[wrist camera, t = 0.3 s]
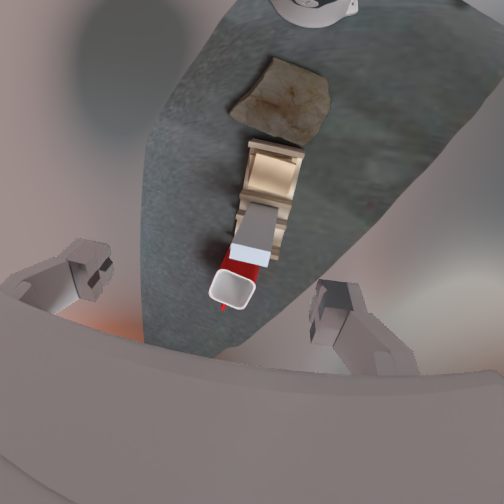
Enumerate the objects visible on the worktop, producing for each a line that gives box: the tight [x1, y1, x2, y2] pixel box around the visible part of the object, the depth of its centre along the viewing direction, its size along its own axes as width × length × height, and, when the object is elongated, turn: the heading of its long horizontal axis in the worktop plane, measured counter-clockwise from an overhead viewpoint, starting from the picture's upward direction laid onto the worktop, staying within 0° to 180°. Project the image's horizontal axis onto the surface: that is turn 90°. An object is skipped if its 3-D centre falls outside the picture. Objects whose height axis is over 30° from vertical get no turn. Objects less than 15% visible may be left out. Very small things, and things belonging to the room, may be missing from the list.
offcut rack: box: [230, 138, 305, 260], centre depth 55 cm, size 22×10×6 cm, turn 170°
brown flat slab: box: [229, 57, 331, 147], centre depth 46 cm, size 17×15×4 cm
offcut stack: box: [248, 148, 297, 197], centre depth 51 cm, size 7×8×6 cm
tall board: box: [229, 201, 279, 267], centre depth 48 cm, size 2×6×20 cm, turn 80°
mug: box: [209, 247, 260, 310], centre depth 62 cm, size 12×8×11 cm
